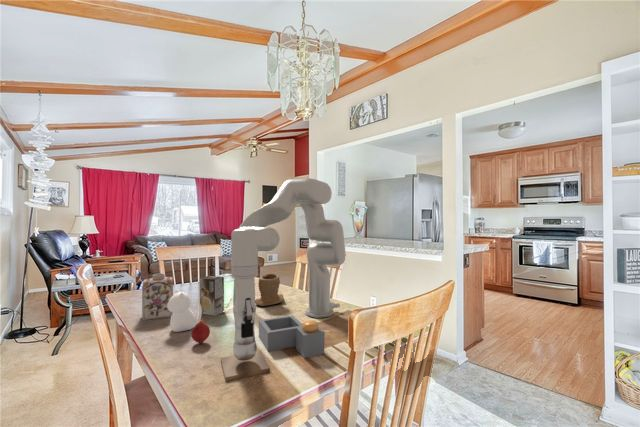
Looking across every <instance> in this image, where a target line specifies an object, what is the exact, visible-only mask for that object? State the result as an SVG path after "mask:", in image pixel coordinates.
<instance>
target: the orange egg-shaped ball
mask: <svg viewBox="0 0 640 427" xmlns="http://www.w3.org/2000/svg"><path fill="white" fill-rule="evenodd" d="M301 323H302V330H303V331H304V332H315V331H317V330H318V327H319V324H318V321H316V320H309V319H308V320H304V321H302V322H301Z"/></svg>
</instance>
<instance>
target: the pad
mask: <svg viewBox="0 0 640 427" xmlns="http://www.w3.org/2000/svg"><path fill="white" fill-rule="evenodd" d="M220 364H221V368H222V371H223V377H224V380H225V382H229V381H232V380H233V381H234V380H237V379H243V378H247V377H253V376H256V375H260V374H265V373H269V372H270V371H271V368H270V366H269V364H268V362H267V360H266V358H265V357H264V354H263V353H262V351H261V350H256V354H255V356H254V357H253V358H252V359H249V360H238V359H236V358H235V356H234V354H233V355H229V356H224V357H220Z"/></svg>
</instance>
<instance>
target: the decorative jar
mask: <svg viewBox="0 0 640 427" xmlns="http://www.w3.org/2000/svg"><path fill="white" fill-rule="evenodd" d="M141 288H142V289H141V290H142V291H141V292H142V293H141V294H142V295H141V296H142V297H141V316H142V317H141V318H142V321H148V320H155V319H164V318H171V316H172V314H173V312H171V311H169V310H168V308H167V305H168V302H169V300H170V298H171V297H172V296H173V295H174V277H173V276H165V273H161V272H158V273H154V274H152V277H149V278H146V279H144V280H143V281H142V287H141Z"/></svg>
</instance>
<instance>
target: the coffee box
mask: <svg viewBox="0 0 640 427" xmlns="http://www.w3.org/2000/svg"><path fill="white" fill-rule="evenodd" d="M224 285H225V277H224V276H217V275H215V276H214V275H206V276H203V277H200V278H199V304H200V305H201V307H202V315H206V316H207V315H208V316H214V317H215V316H218V315H220V314H223V313H224V312H225V286H224ZM223 311H224V312H223ZM222 312H223V313H222Z"/></svg>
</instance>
